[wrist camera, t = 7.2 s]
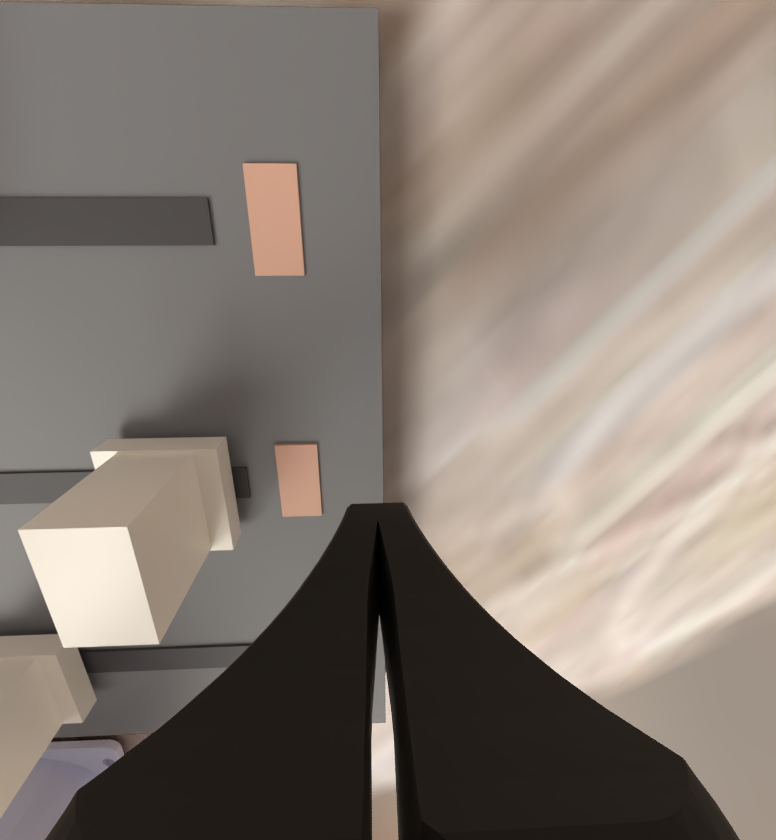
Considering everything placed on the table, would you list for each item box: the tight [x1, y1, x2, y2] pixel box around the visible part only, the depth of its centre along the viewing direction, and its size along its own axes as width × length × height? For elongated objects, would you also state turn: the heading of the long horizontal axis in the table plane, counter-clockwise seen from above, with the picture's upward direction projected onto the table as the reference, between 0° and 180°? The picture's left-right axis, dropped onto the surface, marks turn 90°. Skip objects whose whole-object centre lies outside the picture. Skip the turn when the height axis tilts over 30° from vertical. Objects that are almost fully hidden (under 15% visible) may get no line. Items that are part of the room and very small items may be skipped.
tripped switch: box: [18, 437, 241, 648], centre depth 10 cm, size 3×3×4 cm
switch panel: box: [0, 2, 386, 738], centre depth 13 cm, size 22×18×2 cm
